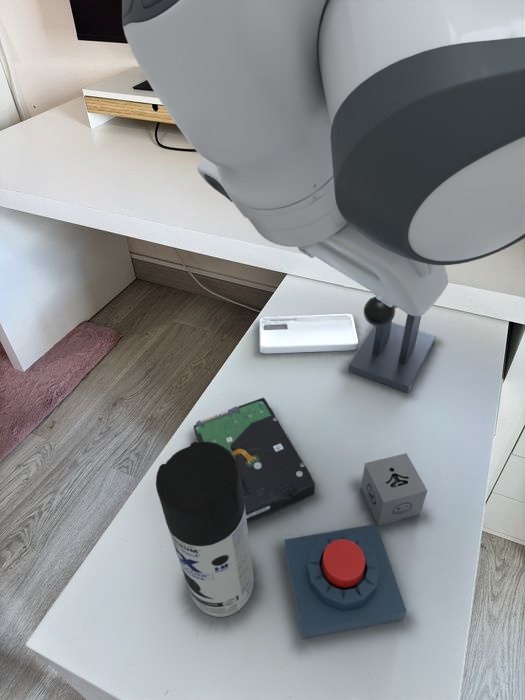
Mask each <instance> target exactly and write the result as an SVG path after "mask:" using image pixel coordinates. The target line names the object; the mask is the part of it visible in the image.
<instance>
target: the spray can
mask: <svg viewBox="0 0 525 700" xmlns="http://www.w3.org/2000/svg"><path fill="white" fill-rule="evenodd" d="M155 487H156V492H157V496H158V499H159V501H160V505H161V508H162V509H161V510H162V512H163V515H164V519H165V524H166V526H167V529H168V532H169V535H170V537H171V541H172V543H173V546H174V550H175V552H176V555H177V559H178V561H179V564H180V566H181V569H182V572H183V576H184V579H185V581H186V585H187V587H188V591H189V593H190V596H191V599H192V600H193V603H194V604H195V605H196V607H198V609H199V610H201V611H202V612H203V614H206V615H208V616H211V617H214V618H215V617H216V618H228V617H229V616H232V615H234V614H236V613H238V612H239V611H240V610H241V609H243V608H244V606H246V604H247V603H248V601H249V600H250V598H251V596H252V593H253V589H254V582H255V576H254V568H253V561H252V553H251V545H250V537H249V528H248V527H249V526H248V523H247V520H246V512H245V503H244V496H243V490H242V484H241V478H240V471H239V466H238V463H237V461H236V459H235V457H234V456H233V455H232V453H231V452H230V451H229V450H228V449H226V448H225V447H223V446H221V445H219V444H217V443H213V442H203V441H199V442H198V441H193V442H191V443H190V445H188V446H186V447H183V448H182V449H179V450H178V451H176V452H175V453H174V454H172V456H170V458H169V459H167V460H166V462H165V463H161V465H159V467H158V470H157V472H156V478H155Z"/></svg>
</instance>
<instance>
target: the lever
mask: <svg viewBox="0 0 525 700" xmlns="http://www.w3.org/2000/svg"><path fill="white" fill-rule="evenodd" d="M397 308H398V307H396V306H394V305H393V306H392V307H389V306H387V305H386V304H384V303H383V302H381V301H380V300H378V299H377V298H376V296H375V295H374V296H372V297H371V298H369V299H368V300H367V301H366V303H365V304H364V308H363V316H364V318H365V321H366V322H367V323H368V324H370V325H371V326H374V327H375V326H377V327H382V326H385V325H387V324H389V323H390V322H391V321H392V322H393V320H394V318H395V315H396V309H397Z"/></svg>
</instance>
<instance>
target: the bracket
mask: <svg viewBox="0 0 525 700" xmlns="http://www.w3.org/2000/svg"><path fill="white" fill-rule="evenodd" d="M406 314H407V313H406ZM405 319H406V320H405V325H401V324H398V323H395V322H393V320H392V321H391V322H390V323H389V324H387V325H385V326H382V327H377V326H374V327H373V328H372V330H371V331H370V333H369V334H368V335H367V337H366V338H365V340H364V342H363V343H362V345H361V346H360V347H359V349H358V350H357V352H356V354H355V356H353V358H352V360H351V361H350V363H349V364H348V372H350V373H353V374H355V375H359V376H361V377H363V378H366V379H369V380H372V381H374V382H377V383H380V384H383V385H386V386H388V387H390V388H393V389H396V390H398V391H402V392H404V393H409V392H410V391H411V388H412V387H413V384H414V382H415V380H416V379H417V376H418V375H419V372H420V371H421V369H422V367H423V365H424V363H425V361H426V359H427V358H428V355H429V354H430V352H431V350H432V349H433V346H434V344H435V341H436V335H434V334H430V333H427V332H424V331H422V330H420V329H419V328H420V324H421V320H422V316H412V315H409V314H407V315H406V318H405Z"/></svg>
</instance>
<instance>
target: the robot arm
mask: <svg viewBox="0 0 525 700" xmlns="http://www.w3.org/2000/svg"><path fill="white" fill-rule="evenodd" d="M121 23H122V29H123V32H124V36H125V39H126V41H127V44H128V46H129V48H130V50H131V52H132V55H133V57H134V58H135V60H136V62H137V64H138V66H139V68H140V70H141V73H142V74H143V75H144V77H145V79H146V80H147V82H148V84H149V85H150V88H151V89H152V90H153V92H154V93H155V95H156V97H157V98H158V100H159V102H160V103H161V104H162V107H164V109H165V110H166V112H167V113H168V115H169V116H170V118H171V119H172V121H173V122H174V123H175V125H176V126H177V128H178V129H179V130H180V132H181V134H183V136H184V137H185V139H186V140H187V141H188V143H189V144H190V145H191V146H192V148H193V149H194V150H195V152H197V153H198V154H199V155H200V156H201V157H202V159H201V161H200V163H199V164H198V165H197V166H196V170H197V172H198V174H199V176H201V177H202V179H203V180H204V181H205V182H206V184H208V185H209V186H210V187H211V188H212V189H214V190H215V191H217V193H220V194H221V195H222V196H224V197H225V198H226V199H227V200H228V201H230V202H231V203H233V205H234V206H235V207H236V209H237V210H238V211H239V212H240V214H241V215H242V216H243V217H244V218H245V219H247V220H248V222H250V224H251V225H252V226H253V227H254V229H255V230H256V231H257V233H258V234H259V235H260V236H261V237H263V238H264V240H266V241H268V242H270V243H273V244H275V245H278V246H282V247H286V248H287V247H288V248H297V249H298V250H299V252H300V253H302V254H304V255H305V256H307V257H309V258H310V259H314V258H316V259H318V260H320V261H321V262H323V263H325V264H326V265H328V266H329V267H331V268H333V269H334V270H335V271H337V272H339V273H341V274H342V275H344V276H345V277H347V278H349V279H351V280H352V281H354V282H356V283H357V284H359V285H360V286H362V287H363V288H365V289H366V290H368V291H370V292H372V293H374V297H375V296H376V298H377V299H378V300H380V301H381V302H383V303H384V304H386V305H387V306H389V307H392V306H393V305H394V306H396V307H397V308H398V309H399V310H401V311H402V312H404V313H406V314H409V315H412V316H421V317H422V316H424V315H425V314H426V313H428V311H429V310H430V309H431V308H432V307H433V306H434V304H436V302H437V301H438V299H439V298H440V297H441V295H443V293H444V291H445V290H446V288H447V287H448V285H449V275H448V273H447V269H446V266H453V265H461V264H467V263H470V262H474V261H477V260H481V259H484V258H487V257H489V256H492V255H495V254H497V253H499V252H501V251H503V250H504V251H505V250H506V249H508V248H510V247H512V246H513V245H515V244H518V243H519V242H521V241H522V240H524V239H525V0H121Z"/></svg>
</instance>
